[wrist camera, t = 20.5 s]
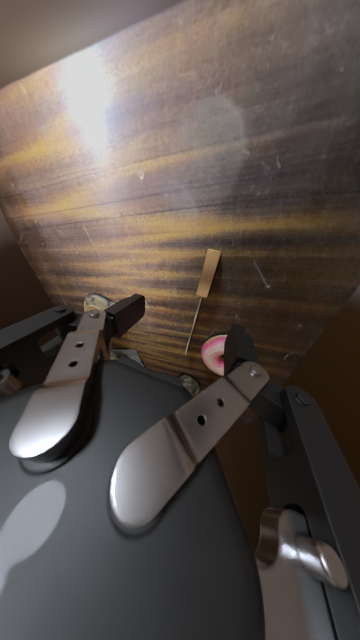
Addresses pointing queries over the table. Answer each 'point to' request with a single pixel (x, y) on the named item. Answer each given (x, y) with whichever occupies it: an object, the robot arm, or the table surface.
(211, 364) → the donut
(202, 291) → the knife
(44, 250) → the table surface
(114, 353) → the stuffed giraffe
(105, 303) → the decorative bowl
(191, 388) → the seashell
